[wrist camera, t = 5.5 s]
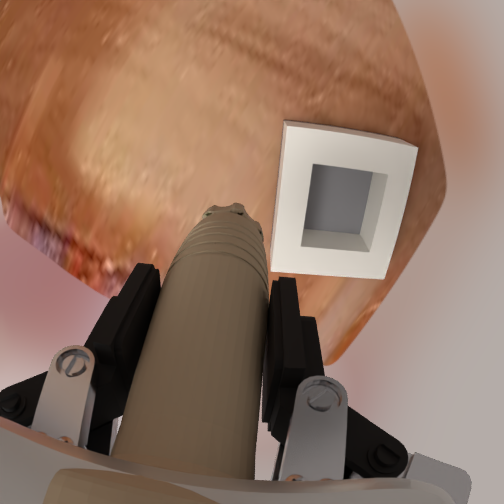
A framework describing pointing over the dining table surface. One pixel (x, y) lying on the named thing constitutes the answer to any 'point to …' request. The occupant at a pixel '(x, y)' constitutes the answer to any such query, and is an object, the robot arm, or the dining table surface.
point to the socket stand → (339, 200)
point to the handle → (192, 372)
